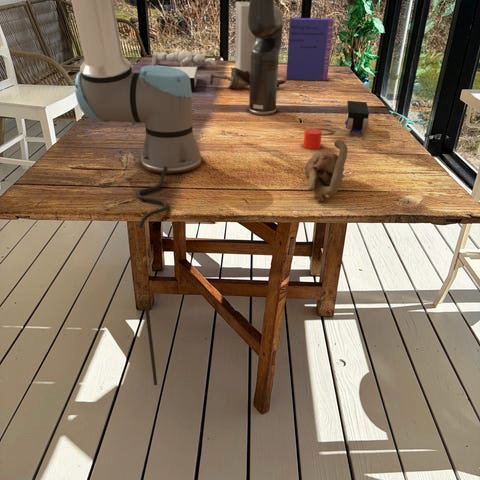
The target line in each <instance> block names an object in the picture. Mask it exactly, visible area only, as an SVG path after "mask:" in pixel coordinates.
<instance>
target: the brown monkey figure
mask: <svg viewBox="0 0 480 480" xmlns="http://www.w3.org/2000/svg"><path fill="white" fill-rule="evenodd" d="M334 147H335V148H336V149H338V150H339V152H338V155H337V154H336V153H329V152H325V151H323V150H321V149H319V150H317V151H316V152H314V153H313V155H312V156H311V157H310V158H309V159H308V160H307V162H306V163H305V165H304V169H303V172H304V175H305V177H306V178H307V179H308V191H312V192H313V199H314V200H316V201H319V200H320V201H321V202H324V201H325V200H329V198H330V196H332V195H335V194H336V193H337V192H338V191H339V190H340V188H341V185H342V183H343V174H344V171H345V164H346V161H347V158H348V153H349V151H348V149H349V148H348V146H347V144H346V143H345V142H344V141H343V140H341V139H336V140H335V141H334Z"/></svg>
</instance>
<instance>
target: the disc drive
mask: <svg viewBox="0 0 480 480" xmlns="http://www.w3.org/2000/svg"><path fill="white" fill-rule="evenodd" d="M172 67H173V68H176V69H179V70H182V71H184V72H185V73H186V74H187V75H188V76H189V78H190V83H191V91H192V92H196V85H197V81H198V67H194V66H183V67H181V66H172Z"/></svg>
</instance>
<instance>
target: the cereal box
mask: <svg viewBox="0 0 480 480" xmlns="http://www.w3.org/2000/svg"><path fill="white" fill-rule="evenodd" d="M333 27H334V19H333V18H321V17H320V18H317V17H316V18H315V17H289V26H288V44H287V57H286V58H287V60H286V76H285V77H286V81H287V80H288V81H290V80H291V81H322V82H325V81H326V82H327V81H328V76H329V67H330V58H331V57H330V56H331V48H332V38H333V29H334V28H333Z"/></svg>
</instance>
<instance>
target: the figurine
mask: <svg viewBox="0 0 480 480" xmlns="http://www.w3.org/2000/svg"><path fill="white" fill-rule="evenodd" d="M230 69H231V72H230V73H231V74H230V76H229V75H225V74H213V73H211V74H210V78H209V85H212V84H213V83H214V79H215V78H216V79H223V80H227V81H229V84H228V88H229V89H241V88H247V87H250V72H249V71H245V72H244V71H242V70H240V69H237V68H235V67H232V66H231V67H230ZM286 83H287V79H286V80H285V79H277V89H278V88H280V86H281V85H284V84H286Z"/></svg>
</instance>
